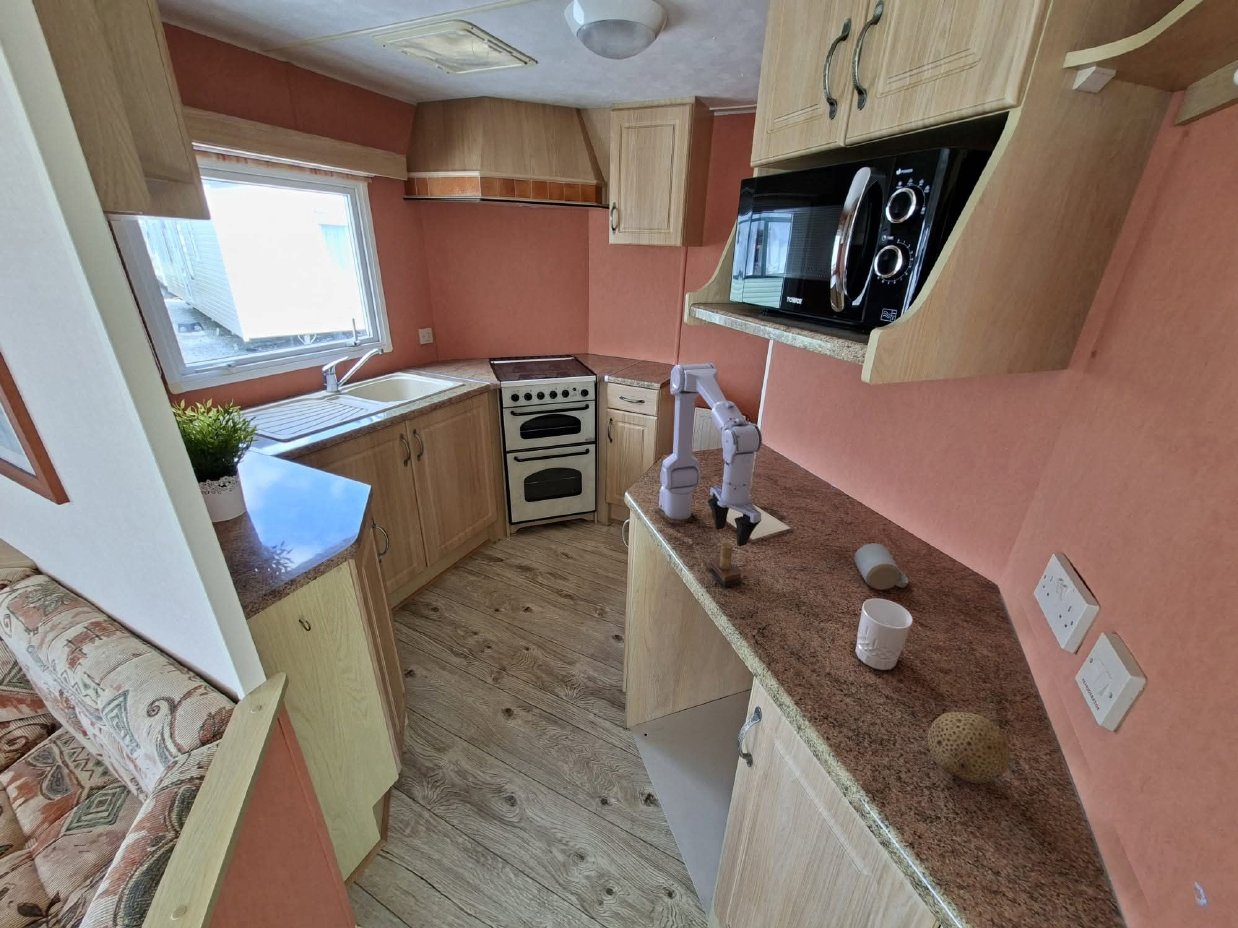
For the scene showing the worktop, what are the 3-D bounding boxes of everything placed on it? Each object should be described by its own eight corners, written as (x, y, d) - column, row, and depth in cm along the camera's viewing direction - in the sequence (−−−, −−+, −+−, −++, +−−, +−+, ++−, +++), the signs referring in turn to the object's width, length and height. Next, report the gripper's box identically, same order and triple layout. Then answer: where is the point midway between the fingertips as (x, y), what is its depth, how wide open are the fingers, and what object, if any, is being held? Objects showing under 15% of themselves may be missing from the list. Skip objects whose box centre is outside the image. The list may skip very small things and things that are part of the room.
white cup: (842, 646, 92) (852, 603, 88) (874, 636, 95) (885, 594, 91) (876, 678, 85) (889, 633, 81) (909, 665, 88) (923, 621, 84)
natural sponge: (952, 809, 65) (974, 758, 61) (905, 748, 73) (922, 699, 69) (1011, 797, 66) (1036, 746, 63) (958, 739, 75) (978, 690, 71)
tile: (714, 515, 138) (714, 512, 138) (750, 506, 144) (750, 502, 143) (752, 543, 125) (752, 539, 125) (790, 531, 130) (790, 527, 130)
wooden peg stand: (708, 569, 115) (711, 538, 111) (723, 566, 116) (726, 535, 113) (724, 586, 108) (727, 555, 105) (739, 583, 110) (743, 551, 106)
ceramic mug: (863, 591, 107) (871, 561, 104) (850, 569, 115) (857, 541, 112) (913, 594, 107) (923, 565, 104) (897, 572, 114) (905, 544, 111)
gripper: (701, 471, 107) (696, 525, 113) (744, 498, 95) (737, 557, 101) (726, 465, 110) (721, 518, 116) (772, 491, 98) (764, 549, 104)
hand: (730, 536), depth 108 cm, fingers open, 7 cm apart
